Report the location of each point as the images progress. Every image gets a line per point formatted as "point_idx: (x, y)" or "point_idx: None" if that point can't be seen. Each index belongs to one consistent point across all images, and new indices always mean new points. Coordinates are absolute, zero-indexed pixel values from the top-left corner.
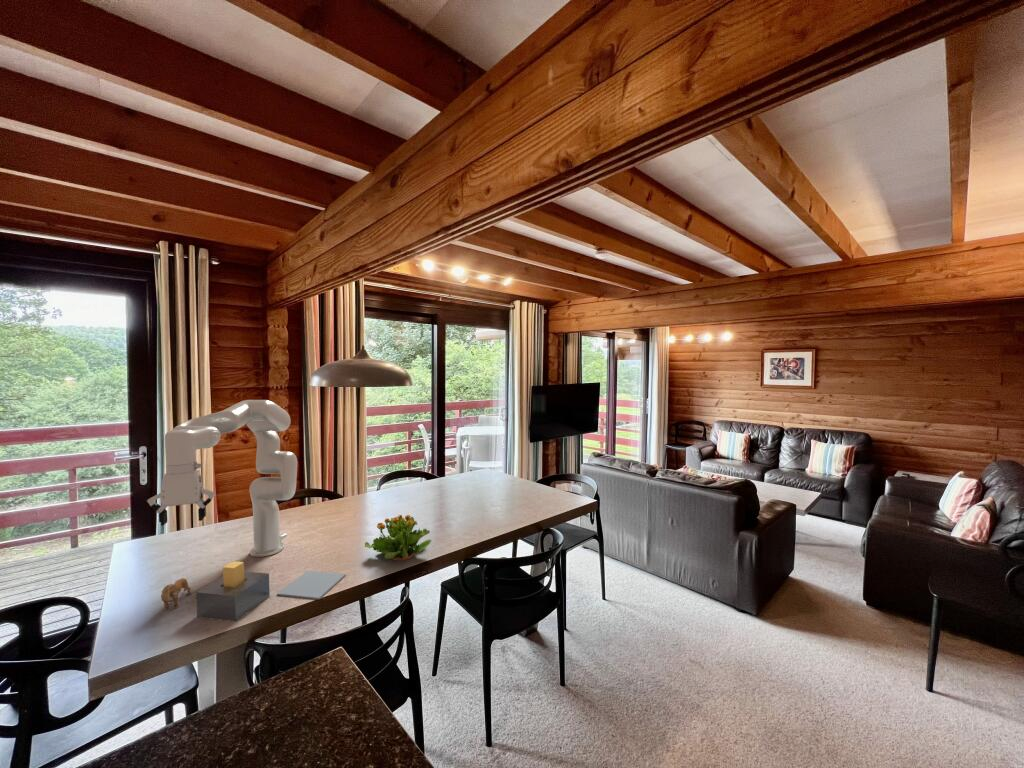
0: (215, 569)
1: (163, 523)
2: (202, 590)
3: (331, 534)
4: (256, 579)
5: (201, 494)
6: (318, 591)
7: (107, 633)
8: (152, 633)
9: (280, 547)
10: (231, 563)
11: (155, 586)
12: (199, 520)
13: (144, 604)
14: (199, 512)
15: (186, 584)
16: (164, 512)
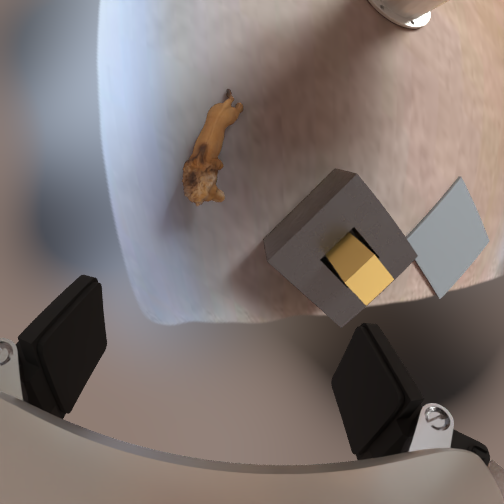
0: (291, 9)
1: (100, 353)
2: (281, 260)
3: (494, 39)
4: (392, 271)
5: (489, 487)
6: (447, 277)
7: (115, 207)
8: (190, 256)
9: (425, 17)
10: (367, 268)
11: (165, 30)
12: (335, 384)
13: (152, 110)
14: (353, 434)
15: (234, 120)
16: (61, 402)
